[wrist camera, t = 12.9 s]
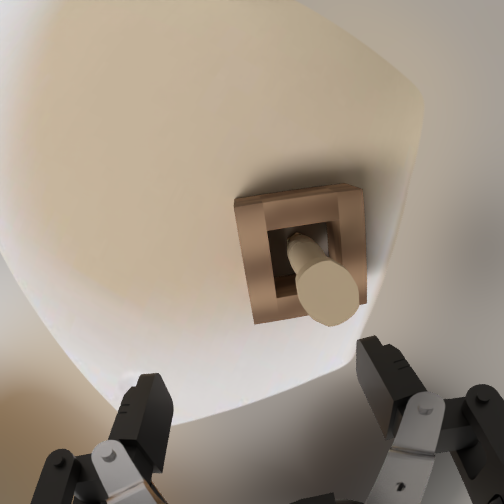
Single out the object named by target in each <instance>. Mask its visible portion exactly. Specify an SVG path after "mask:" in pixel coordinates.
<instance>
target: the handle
mask: <svg viewBox="0 0 504 504" xmlns="http://www.w3.org/2000/svg"><path fill="white" fill-rule="evenodd" d="M287 244H288V245H287V255H288V259H289V261H290V264H291V266H292V268H293V270H294V271H295V273H296V274H297V275H296V278H295V280H296V288H297V294H298V298H299V300H300V303H301V304H302V306H303V308H304V309H305V310H306V312H307V313H308V314H309V316H310V317H311V318H312V319H314V320H315V321H317V322H319V323H321V324H324V325H326V326H328V327H330V326H336V325H339V324H341V323H343V322H345V321H347V320H348V319H349V318H350V317H352V316H353V315H354V314H355V312H356V311H357V309H358V307H359V291H358V287H357V285H356V283H355V281H354V279H353V278H352V276H351V274H350V273H349V272H348V270H347V269H346V268H345V267H344V266H343V265H341V264H340V263H338V262H336V261H335V260H333V259H331V258H329V257H327V256H326V255H325V253H324V252H323V250H322V249H321V247H320V246H319V245H318V244H317V243H316V242H315V241H314V240H313V239H311V238H310V237H308V236H306V235H302V234H300V233H299V232H296V233H295V234H294V235H293V236H291V237H288V239H287Z"/></svg>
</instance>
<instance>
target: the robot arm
mask: <svg viewBox="0 0 504 504" xmlns="http://www.w3.org/2000/svg"><path fill="white" fill-rule="evenodd" d="M356 371H357V377H358V380H359V383H360V385H361V387H362V389H363V391H364V394H365V396H366V398H367V400H368V402H369V405H370V407H371V409H372V411H373V413H374V416H375V418H376V420H377V422H378V424H379V427H380V429H381V431H382V433H383V436H384V438H385V440H388V439H391V438H395V440H394V443H393V445H392V447H391V448H390V450H389V452H388V455H387V457H386V460H385V462H384V464H383V466H382V469H381V471H380V473H379V475H378V478H377V480H376V482H375V484H374V486H373V488H372V490H371V492H370V495H369V496H368V498H367V500H366V502H365V503H362V502H358V501H354V500H348V499H335V498H334V493H329V494H325V495H320V496H315V497H310V498H306V499H301V500H298V501H296V502H293V503H291V504H420V503H421V500H422V497H423V494H424V491H425V489H426V486H427V483H428V480H429V476H430V474H431V470H432V467H433V464H434V460H435V455H434V453H441V452H448V451H449V452H450V454H451V456H452V458H453V460H454V462H455V464H456V466H457V469H458V471H459V473H460V475H461V478H462V480H463V482H464V484H465V487H466V489H467V491H468V494H469V496H470V498H471V501H472V503H473V504H504V400H503V399H502V397H501V396H500V395H499V393H498V392H497V391H496V390H495V389H494V388H493V387H491V386H489V385H485V384H479V385H475V386H473V387H472V388H470V389H469V390H468V392H467V394H466V397H461V398H453V399H443V398H442V397H441V396H439V395H438V394H436V393H433V392H428V391H427V390H426V388H425V387H424V385H423V384H422V382H421V381H420V380H419V378H418V376H417V375H416V373H415V372H414V370H413V369H412V368H411V367H410V365H409V364H408V362H407V360H405V358H404V356H403V355H402V353H401V352H400V350H398V349H397V348H395V347H394V346H392V345H390V344H388V345H384V346H383V345H382V344H381V342H380V341H379V339H378V338H377V337H376V336H375V335H374V336H371V337H367V338H363V339H359V340H357V347H356ZM173 410H174V409H173V401H172V398H171V396H170V394H169V392H168V390H167V388H166V386H165V384H164V382H163V379H162V377H161V375H160V374H159V373H152V374H141V375H140V377H139V379H138V382H137V385H136V387H131V388H130V389H129V390H128V391H127V392H126V394H125V395H124V397H123V399H122V402H121V406H120V407H119V410H118V414H117V416H116V418H115V422H114V424H113V427H112V430H111V433H110V436H109V438H108V440H106V441H103V442H101V443H100V444H98V445H97V446H96V447H95V448H94V450H93V452H92V453H91V454H86V455H81V456H74V455H73V454H72V453H71V452H70V451H69V450H66V449H58V450H55V451H53V452H52V453H51V454H50V455H49V456H48V457H47V459H46V461H45V464H44V467H43V469H42V472H41V475H40V478H39V481H38V484H37V487H36V489H35V492H34V495H33V498H32V501H31V504H71V502H72V499H73V495H75V496H74V501H73V504H168V502H167V501H166V500H165V498H164V497H163V496H162V494H161V493H160V491H159V490H158V488H157V487H156V486H155V484H154V483H153V482H152V480H151V477H152V473H162V472H163V466H164V460H165V455H166V449H167V443H168V438H169V432H170V427H171V422H172V417H173Z"/></svg>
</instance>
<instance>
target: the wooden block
mask: <svg viewBox="0 0 504 504" xmlns="http://www.w3.org/2000/svg"><path fill="white" fill-rule="evenodd" d="M234 211H235V217H236V223H237V229H238V234H239V240H240V246H241V252H242V257H243V263H244V269H245V274H246V280H247V286H248V291H249V297H250V302H251V308H252V313H253V319H254V324H260V323H267V322H273V321H279V320H285V319H290V318H296V317H302V316H307V315H309V314H308V313H307V312H306V310H305V309H304V308H303V306H302V304H301V303H300V300H299V298H298V294H297V288H296V280H295V278H296V275H297V274H291V275H285V276H279V277H273V270H272V263H271V256H270V249H269V242H268V235H267V231H269V230H275V229H282V228H288V227H294V226H301V225H307V224H314V223H320V222H326V226H327V237H328V249H329V258H331V259H333V260H335V261H336V262H338V263H340V264H341V265H343V266H344V267H345V268H346V269H347V270H348V272H349V273H350V274H351V276H352V278H353V279H354V281H355V283H356V285H357V287H358V291H359V305H362V304H366V303H367V262H366V234H365V215H364V201H363V189H360V188H358V187H355V186H352V185H349V184H346V183H342V184H334V185H326V186H319V187H311V188H304V189H296V190H289V191H282V192H276V193H269V194H262V195H256V196H250V197H244V198H238V199H234Z"/></svg>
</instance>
